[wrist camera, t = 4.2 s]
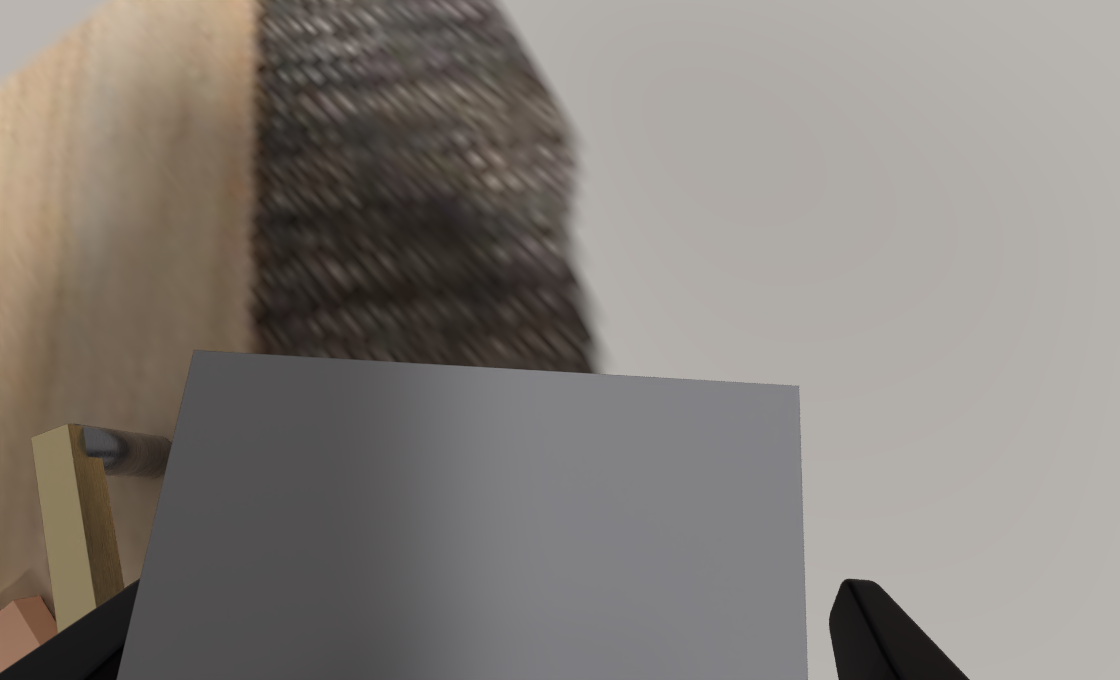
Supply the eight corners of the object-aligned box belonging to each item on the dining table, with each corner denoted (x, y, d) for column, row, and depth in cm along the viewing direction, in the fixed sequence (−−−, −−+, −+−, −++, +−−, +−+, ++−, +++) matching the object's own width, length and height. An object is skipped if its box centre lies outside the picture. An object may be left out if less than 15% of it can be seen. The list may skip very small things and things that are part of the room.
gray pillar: (646, 472, 17) (798, 385, 4) (640, 649, 16) (825, 1243, 3) (487, 461, 17) (193, 350, 5) (469, 634, 16) (15, 1112, 3)
